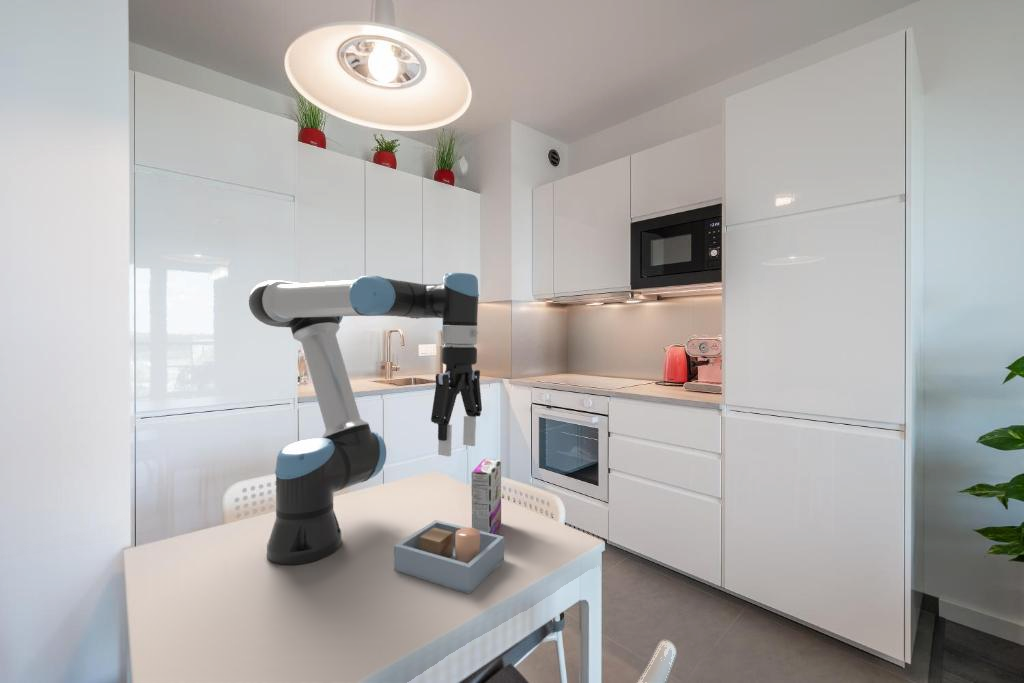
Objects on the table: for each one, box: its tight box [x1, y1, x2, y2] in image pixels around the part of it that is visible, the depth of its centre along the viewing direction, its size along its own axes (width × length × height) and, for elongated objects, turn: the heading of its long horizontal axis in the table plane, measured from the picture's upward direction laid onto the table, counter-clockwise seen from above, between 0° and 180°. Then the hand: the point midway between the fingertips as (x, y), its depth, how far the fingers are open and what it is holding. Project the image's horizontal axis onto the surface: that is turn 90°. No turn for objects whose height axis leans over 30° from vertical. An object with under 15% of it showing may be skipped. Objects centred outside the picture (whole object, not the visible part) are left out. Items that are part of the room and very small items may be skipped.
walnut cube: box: [420, 528, 453, 558], centre depth 94 cm, size 5×5×5 cm
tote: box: [393, 519, 505, 595], centre depth 92 cm, size 18×14×5 cm
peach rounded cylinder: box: [455, 527, 480, 564], centre depth 90 cm, size 5×5×7 cm
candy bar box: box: [471, 458, 502, 535], centre depth 108 cm, size 11×5×16 cm, turn 168°
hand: (457, 449), depth 95 cm, fingers open, 9 cm apart
